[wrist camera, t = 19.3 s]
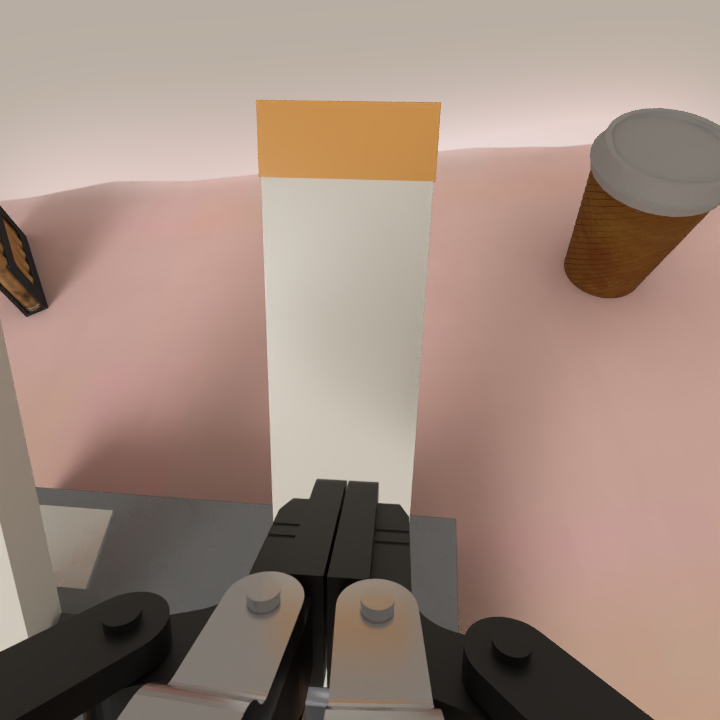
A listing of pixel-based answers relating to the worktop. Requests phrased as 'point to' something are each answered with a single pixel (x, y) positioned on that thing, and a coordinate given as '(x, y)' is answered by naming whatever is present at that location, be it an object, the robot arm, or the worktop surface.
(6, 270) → the ammunition clip
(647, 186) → the disposable coffee cup
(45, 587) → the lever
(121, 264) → the worktop surface
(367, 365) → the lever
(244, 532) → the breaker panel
